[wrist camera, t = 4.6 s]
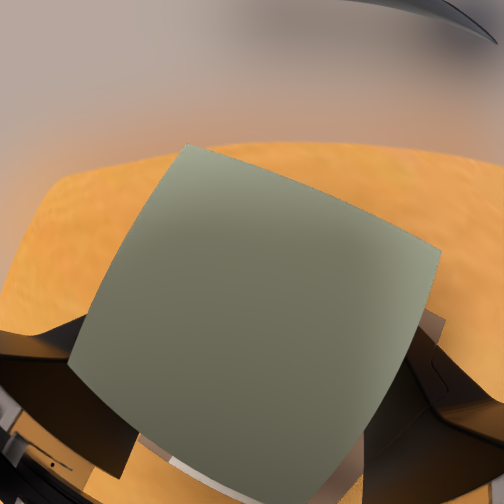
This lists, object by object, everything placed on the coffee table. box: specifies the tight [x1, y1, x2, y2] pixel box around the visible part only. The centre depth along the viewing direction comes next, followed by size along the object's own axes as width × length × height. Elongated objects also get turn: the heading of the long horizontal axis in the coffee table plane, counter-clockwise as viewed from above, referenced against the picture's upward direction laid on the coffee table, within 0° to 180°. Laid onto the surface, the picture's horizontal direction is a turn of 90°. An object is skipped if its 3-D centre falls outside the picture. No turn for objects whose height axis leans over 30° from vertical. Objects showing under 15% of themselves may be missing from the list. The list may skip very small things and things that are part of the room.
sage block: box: [68, 144, 441, 504], centre depth 9 cm, size 4×4×12 cm
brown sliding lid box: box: [138, 309, 446, 504], centre depth 12 cm, size 14×12×4 cm
